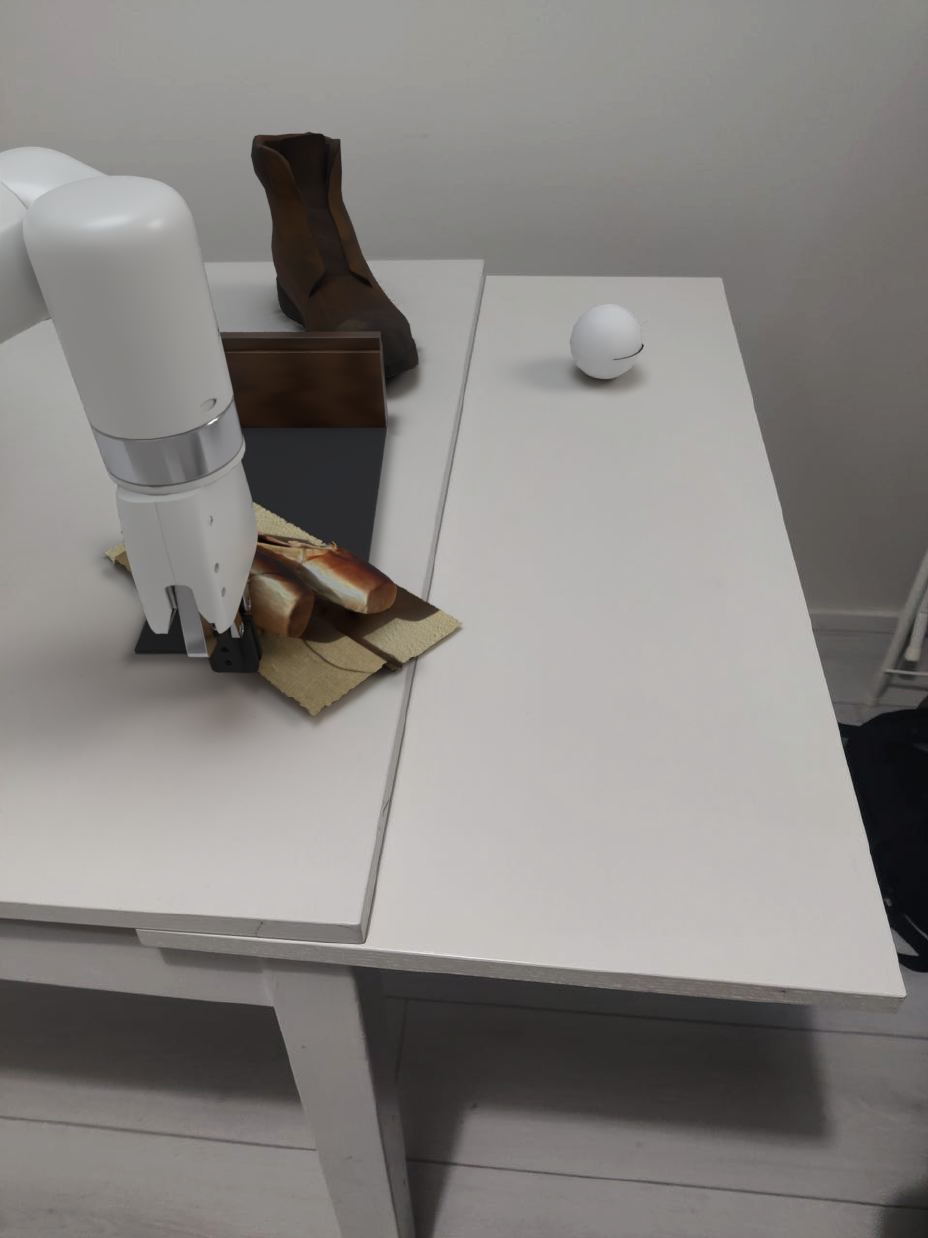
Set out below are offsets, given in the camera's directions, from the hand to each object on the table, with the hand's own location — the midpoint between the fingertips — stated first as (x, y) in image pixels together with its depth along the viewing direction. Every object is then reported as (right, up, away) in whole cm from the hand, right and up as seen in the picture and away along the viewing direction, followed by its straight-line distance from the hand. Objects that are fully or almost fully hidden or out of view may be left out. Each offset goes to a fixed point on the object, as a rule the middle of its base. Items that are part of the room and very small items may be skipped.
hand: (238, 663), depth 60 cm
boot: (+2, +35, +38) cm, 52 cm away
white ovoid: (+31, +29, +32) cm, 53 cm away
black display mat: (0, +11, +14) cm, 17 cm away
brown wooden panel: (0, +22, +25) cm, 33 cm away
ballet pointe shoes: (0, +5, +7) cm, 9 cm away
